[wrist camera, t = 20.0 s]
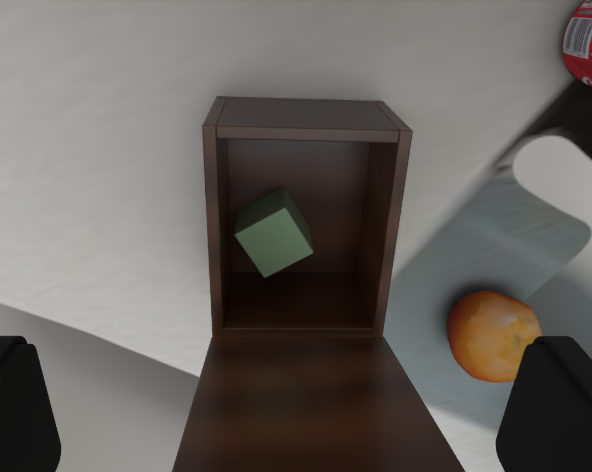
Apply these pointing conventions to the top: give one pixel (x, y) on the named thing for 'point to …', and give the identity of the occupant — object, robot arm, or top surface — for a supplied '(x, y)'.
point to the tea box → (273, 232)
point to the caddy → (305, 212)
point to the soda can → (579, 43)
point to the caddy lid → (309, 410)
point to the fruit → (491, 334)
